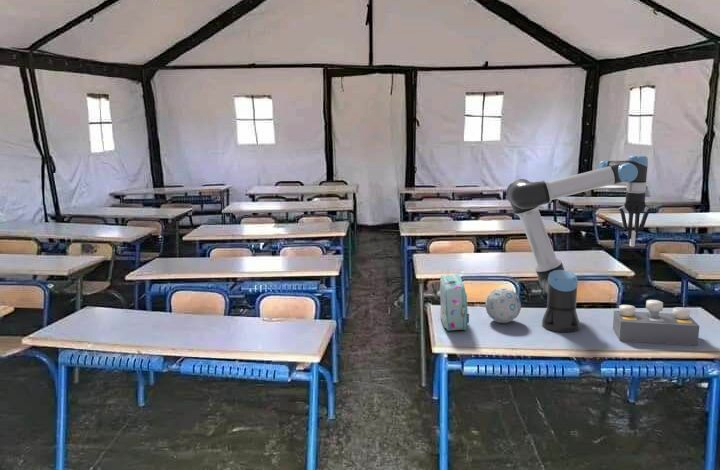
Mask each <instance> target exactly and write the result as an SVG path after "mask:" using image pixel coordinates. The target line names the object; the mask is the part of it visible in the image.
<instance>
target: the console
mask: <svg viewBox="0 0 720 470" xmlns="http://www.w3.org/2000/svg"><path fill="white" fill-rule="evenodd" d="M672 314H673V313H669V312H668V313H666V312H659V318H649V311H648V312H647V311H635V316H632V317H628V316H622V315H620V314H619V310H613V320H612V321H613V322H612V330H613V332H614V333H615V335H616V338H617V339H618V340H619V341H620V342H632V343H633V342H634V343H648V344H649V343H650V344H664V345H666V344H667V345H679V346H682V345H683V346H698V345H699V335H700V325H699V324H698V322H696V321H695V320H694V319H693V317H692V316H690V318H689V319H686V320H684V319H676V318H674V317H673V316H672Z"/></svg>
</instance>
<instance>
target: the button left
mask: <svg viewBox="0 0 720 470" xmlns="http://www.w3.org/2000/svg"><path fill="white" fill-rule="evenodd" d="M618 311H619V314H620V315H622V316H628V317H632V316H635V312H636V307H635V306H634V305H630V304H621V305H618Z"/></svg>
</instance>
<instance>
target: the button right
mask: <svg viewBox="0 0 720 470" xmlns="http://www.w3.org/2000/svg"><path fill="white" fill-rule="evenodd" d="M671 314H672V316H673V317H674V318H676V319H684V320H686V319H689V318H690V317H691V315H690V314H691V310H690V309H688V308H686V307H680V306H679V307H678V306H676V307H675V306H674V307H673V308H672V313H671Z"/></svg>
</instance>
